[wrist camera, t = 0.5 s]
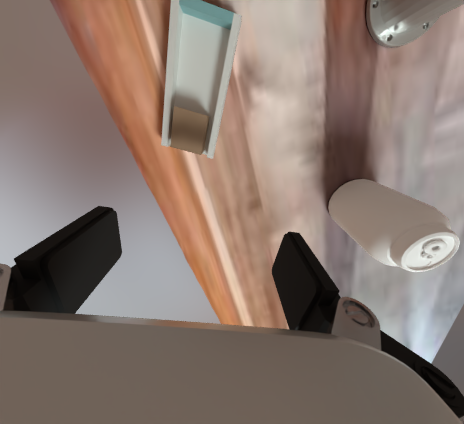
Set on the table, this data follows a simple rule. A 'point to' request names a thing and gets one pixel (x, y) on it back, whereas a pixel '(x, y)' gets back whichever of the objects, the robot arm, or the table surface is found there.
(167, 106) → the chute
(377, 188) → the can
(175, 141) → the walnut block
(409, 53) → the table surface
